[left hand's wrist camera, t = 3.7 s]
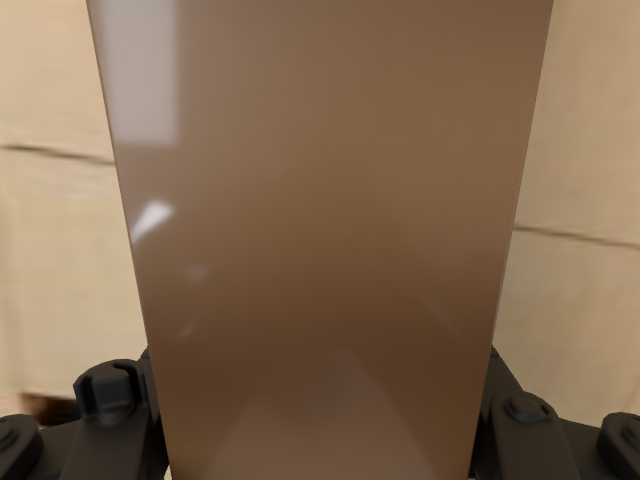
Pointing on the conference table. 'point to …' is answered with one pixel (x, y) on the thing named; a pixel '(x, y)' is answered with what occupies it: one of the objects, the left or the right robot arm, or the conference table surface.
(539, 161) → the conference table surface
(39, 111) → the conference table surface
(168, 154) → the bar
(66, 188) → the conference table surface
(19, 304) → the conference table surface
